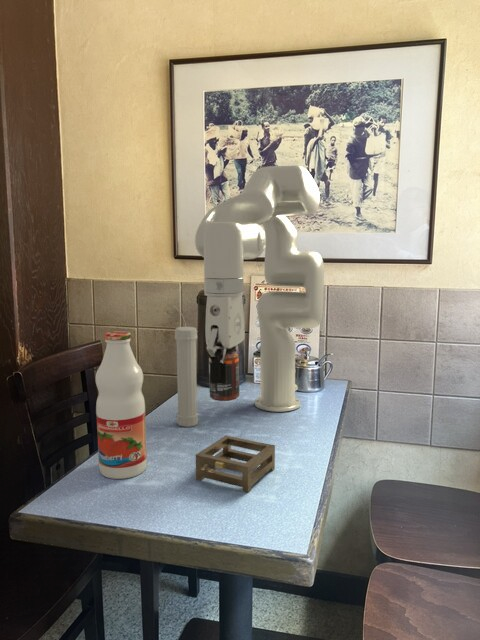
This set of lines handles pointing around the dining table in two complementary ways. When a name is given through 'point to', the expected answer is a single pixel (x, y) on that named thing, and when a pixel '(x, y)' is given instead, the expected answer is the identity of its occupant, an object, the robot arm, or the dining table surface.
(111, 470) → the fruit juice
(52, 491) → the dining table surface
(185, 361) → the pipe
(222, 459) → the collar stand
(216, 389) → the supplement bottle
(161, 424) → the dining table surface
